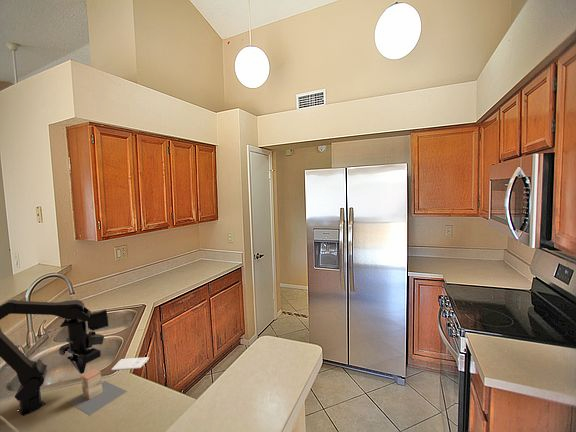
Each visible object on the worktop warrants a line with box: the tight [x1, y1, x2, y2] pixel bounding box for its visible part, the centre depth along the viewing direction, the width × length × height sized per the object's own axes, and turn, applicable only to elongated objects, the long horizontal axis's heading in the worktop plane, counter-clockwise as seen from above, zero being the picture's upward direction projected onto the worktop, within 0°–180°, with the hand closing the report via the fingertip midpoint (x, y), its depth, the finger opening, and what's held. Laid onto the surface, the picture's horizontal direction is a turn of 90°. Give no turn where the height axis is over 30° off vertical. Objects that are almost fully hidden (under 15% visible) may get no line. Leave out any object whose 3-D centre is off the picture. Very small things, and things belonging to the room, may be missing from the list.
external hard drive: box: [110, 356, 150, 371], centre depth 125 cm, size 2×8×12 cm
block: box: [80, 368, 103, 400], centre depth 106 cm, size 4×4×8 cm
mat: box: [67, 380, 128, 416], centre depth 104 cm, size 15×13×1 cm
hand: (82, 373), depth 109 cm, fingers closed
